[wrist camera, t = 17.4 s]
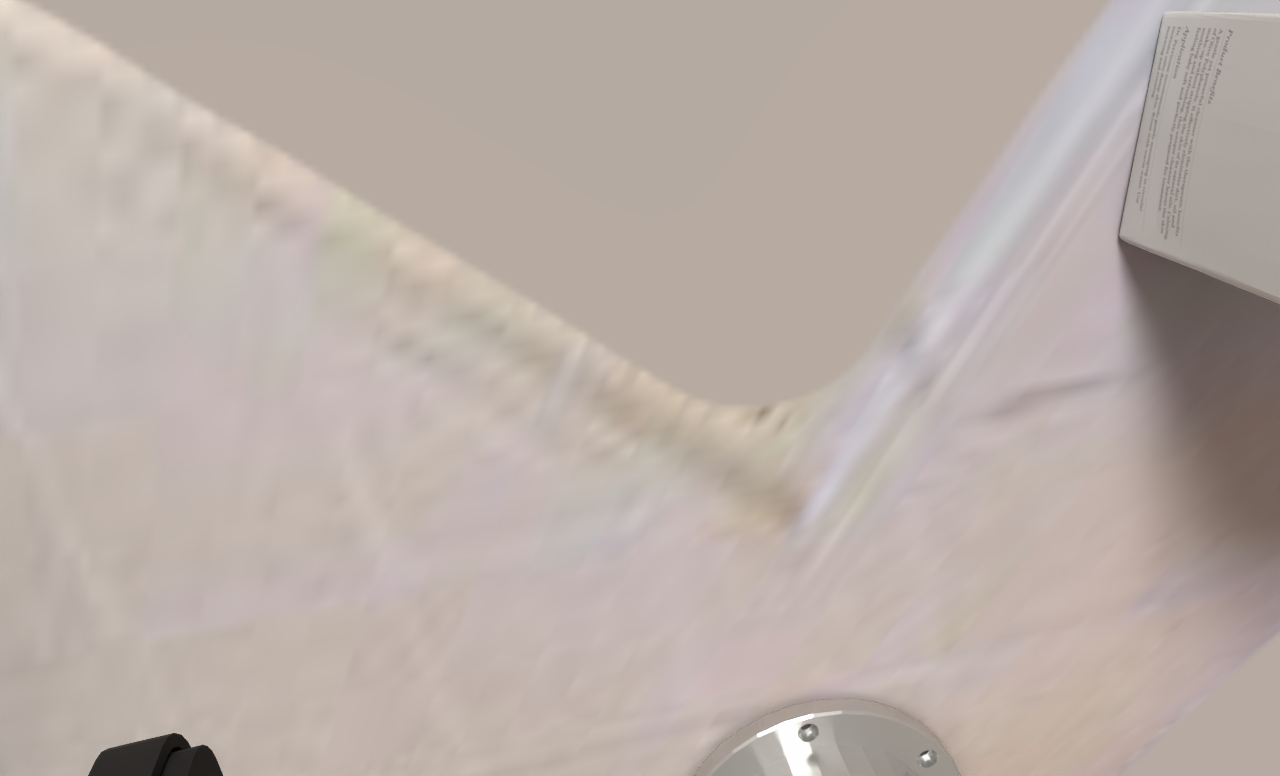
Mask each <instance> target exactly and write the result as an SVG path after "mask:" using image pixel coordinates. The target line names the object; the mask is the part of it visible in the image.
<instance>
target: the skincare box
mask: <svg viewBox="0 0 1280 776" xmlns="http://www.w3.org/2000/svg"><path fill="white" fill-rule="evenodd" d="M1119 236H1120V238H1121V239H1122V240H1123V241H1125V242H1127V243H1129V244H1131V245H1134V246H1136V247H1138V248H1141V249H1143V250H1146V251H1148V252H1151V253H1153V254H1156V255H1159V256H1161V257H1164V258H1166V259H1169V260H1171V261H1174V262H1177V263H1179V264H1182V265H1184V266H1187V267H1189V268H1192V269H1194V270H1197V271H1199V272H1201V273H1204V274H1206V275H1209V276H1211V277H1213V278H1216V279H1218V280H1221V281H1223V282H1226V283H1228V284H1231V285H1233V286H1236V287H1238V288H1241V289H1243V290H1246V291H1248V292H1250V293H1253V294H1255V295H1258V296H1260V297H1263V298H1265V299H1268V300H1270V301H1273V302H1275V303H1278V304H1280V14H1262V13H1226V12H1166V13H1164V15H1163V18H1162V24H1161V29H1160V34H1159V39H1158V44H1157V49H1156V53H1155V58H1154V63H1153V68H1152V73H1151V78H1150V83H1149V87H1148V92H1147V97H1146V102H1145V107H1144V112H1143V117H1142V122H1141V127H1140V132H1139V137H1138V142H1137V147H1136V152H1135V157H1134V162H1133V167H1132V172H1131V177H1130V182H1129V187H1128V192H1127V197H1126V202H1125V207H1124V212H1123V217H1122V223H1121V228H1120V234H1119Z"/></svg>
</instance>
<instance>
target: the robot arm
mask: <svg viewBox="0 0 1280 776" xmlns="http://www.w3.org/2000/svg"><path fill="white" fill-rule="evenodd" d="M88 776H223V774H222V772H221V769H220V767H219V764H218V762H217V759H216V757H215V755H214V754H213V752H212V750H211V749H210V748H209V747H208V746H205V745H201V746H196V747H192V748H191V747H190V745H189V743H188V741H187V740H186V739H185V738H184V737H183V736H182V735H180V734H176V733H172V734H168V735H164V736H160V737H155V738H151V739H147V740H143V741H138V742H134V743H130V744H126V745H121V746H117V747H113V748H109V749H107V750H105V751H103V752H101V753H100V755H99V756H98V758H97V759H96V761H95V763H94V765H93V767H92V769H91V771H90V773H89V775H88ZM694 776H961V775H960V773H959V771H958V769H957V767H956V765H955V763H954V761H953V759H952V757H951V756H950V754H949V753H948V751H947V750H946V748H945V747H944V745H943V744H942V742H941V741H940V739H939V738H938V737H937V736H936V735H935V734H934V733H933V732H932V731H931V730H930V729H928V728H927V727H926V726H925V725H924V724H923V723H922V722H920V721H919V720H917V719H915V718H913V717H912V716H910V715H908V714H907V713H905V712H903V711H901V710H899V709H896V708H893V707H890V706H887V705H884V704H881V703H878V702H872V701H864V700H857V699H850V698H849V699H821V700H816V701H811V702H806V703H801V704H796V705H792V706H789V707H786V708H784V709H781V710H778V711H776V712H773V713H770V714H767V715H765V716H763V717H761V718H759V719H758V720H756V721H754V722H752V723H750V724H749V725H747V726H745V727H743V728H741V729H740V730H738V731H737V732H736V733H735V734H733V735H732V736H731V737H730V738H728V739H727V740H726V741H724V742H723V743H722V744H721V745H719V746H718V747H717V748H716V749H715V750H714V751H713V753H712V754H711V755H710V756H709V757H708V758H707V759H706V760H705V761H704V762H703V764H702V765H701V766H700V767H699V768H698V770H697V772H696V773H695V775H694Z"/></svg>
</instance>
